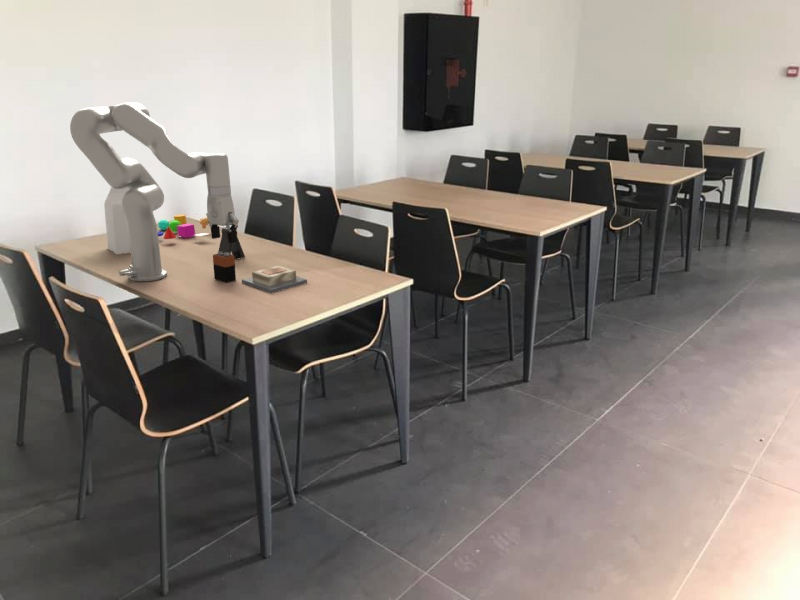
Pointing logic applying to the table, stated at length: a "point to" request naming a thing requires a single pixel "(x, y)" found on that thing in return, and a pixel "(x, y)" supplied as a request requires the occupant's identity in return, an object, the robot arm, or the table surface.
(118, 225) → the milk
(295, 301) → the table surface
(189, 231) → the shape set
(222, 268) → the battery
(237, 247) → the phone stand
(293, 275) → the plinth
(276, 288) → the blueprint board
